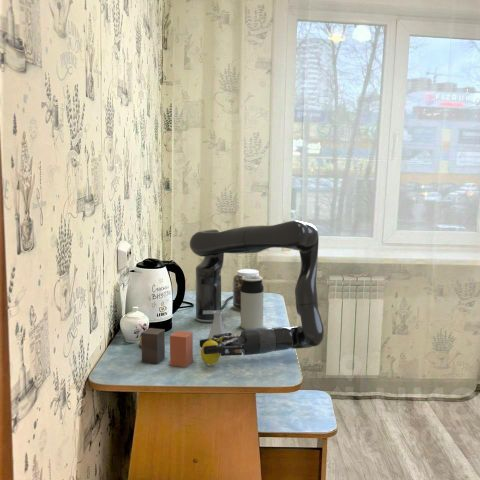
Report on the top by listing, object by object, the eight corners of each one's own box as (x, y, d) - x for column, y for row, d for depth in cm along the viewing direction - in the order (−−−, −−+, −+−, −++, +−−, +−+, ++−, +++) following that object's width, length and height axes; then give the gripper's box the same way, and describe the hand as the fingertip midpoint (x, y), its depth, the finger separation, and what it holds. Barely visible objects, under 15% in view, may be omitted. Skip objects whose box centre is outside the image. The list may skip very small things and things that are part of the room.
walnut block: (149, 356, 180) (149, 328, 179) (164, 358, 179) (164, 329, 178) (141, 362, 176) (141, 332, 174) (157, 364, 175) (156, 334, 173)
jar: (266, 305, 241) (266, 269, 238) (257, 313, 229) (258, 275, 227) (238, 303, 243) (238, 267, 241) (228, 310, 232) (228, 273, 230)
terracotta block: (177, 359, 178) (177, 330, 177) (192, 361, 177) (192, 332, 176) (170, 365, 174) (169, 335, 172) (186, 367, 173) (185, 337, 171)
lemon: (202, 362, 176) (201, 336, 175) (220, 362, 177) (220, 336, 175) (200, 369, 171) (200, 342, 169) (220, 369, 171) (219, 342, 170)
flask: (224, 345, 192) (224, 315, 190) (203, 343, 193) (203, 313, 192) (231, 338, 199) (232, 309, 197) (211, 336, 200) (211, 307, 199)
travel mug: (252, 331, 207) (253, 281, 204) (235, 327, 211) (236, 277, 208) (267, 326, 213) (268, 277, 210) (251, 322, 218) (251, 274, 215)
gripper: (251, 322, 184) (196, 327, 178) (265, 336, 170) (206, 342, 164) (251, 345, 185) (197, 351, 179) (265, 361, 171) (206, 368, 166)
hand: (201, 346), depth 172 cm, fingers closed on lemon, 5 cm apart
